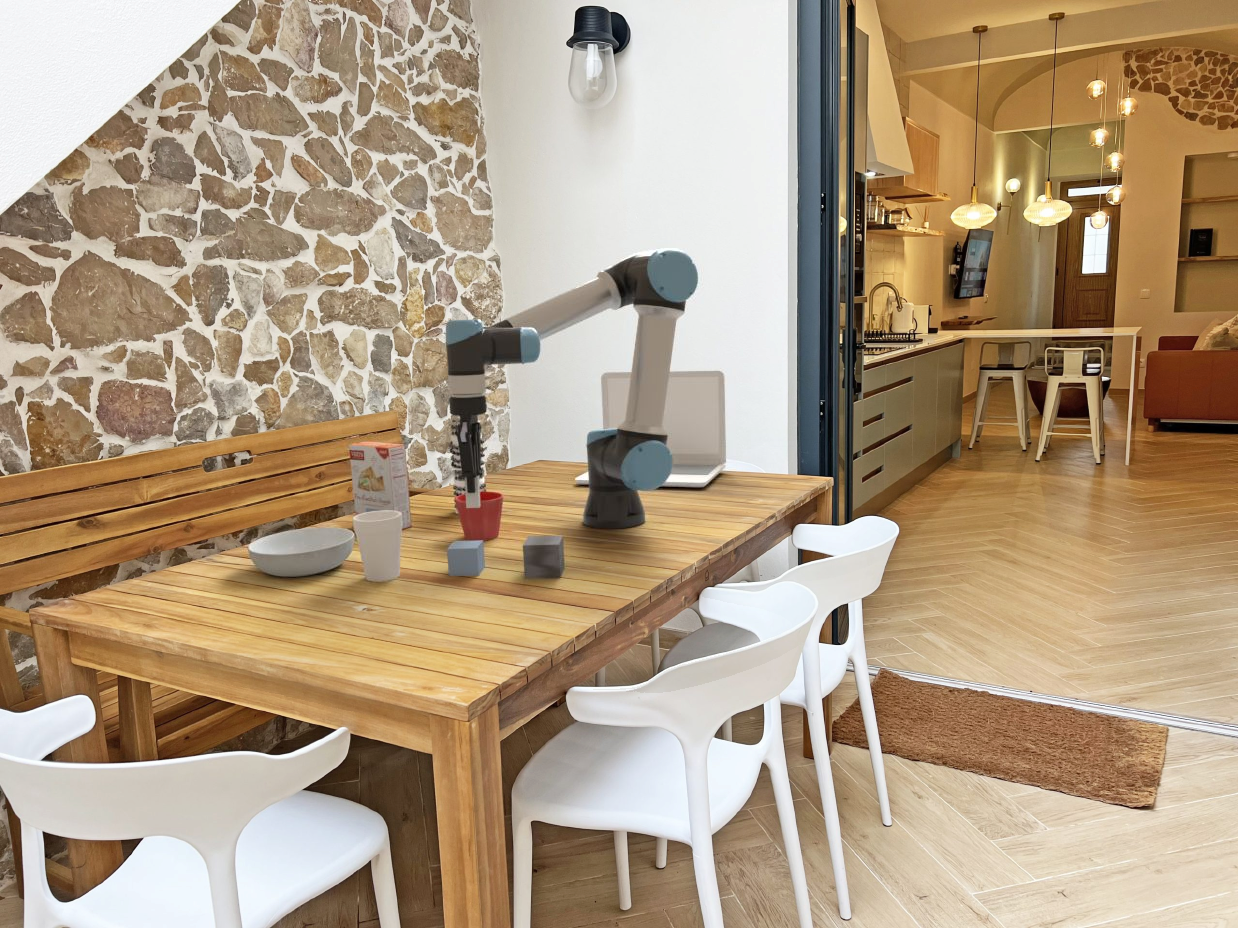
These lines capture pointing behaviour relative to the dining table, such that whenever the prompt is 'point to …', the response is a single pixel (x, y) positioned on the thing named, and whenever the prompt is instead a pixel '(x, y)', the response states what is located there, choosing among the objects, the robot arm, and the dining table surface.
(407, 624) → the dining table surface
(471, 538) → the flower pot
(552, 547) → the charcoal block
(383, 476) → the cracker box
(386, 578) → the foam cup
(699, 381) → the laptop
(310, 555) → the serving bowl
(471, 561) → the slate-blue block
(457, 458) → the black and white cylinder
